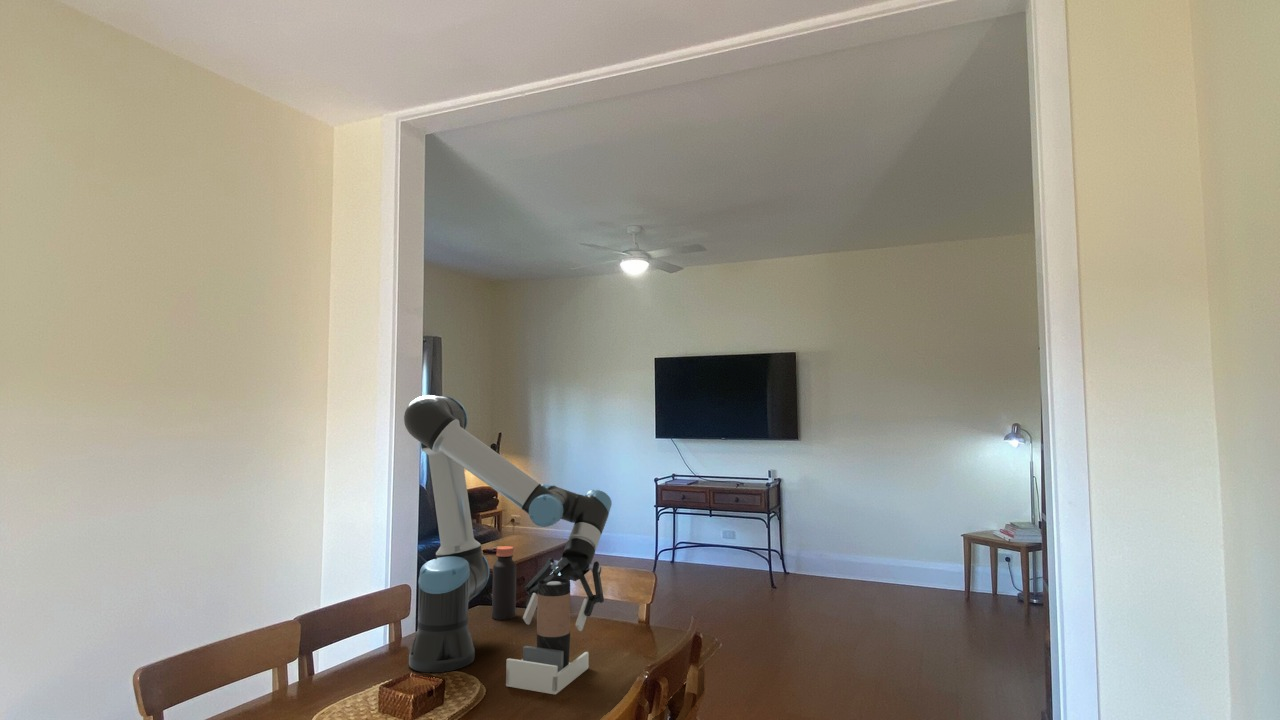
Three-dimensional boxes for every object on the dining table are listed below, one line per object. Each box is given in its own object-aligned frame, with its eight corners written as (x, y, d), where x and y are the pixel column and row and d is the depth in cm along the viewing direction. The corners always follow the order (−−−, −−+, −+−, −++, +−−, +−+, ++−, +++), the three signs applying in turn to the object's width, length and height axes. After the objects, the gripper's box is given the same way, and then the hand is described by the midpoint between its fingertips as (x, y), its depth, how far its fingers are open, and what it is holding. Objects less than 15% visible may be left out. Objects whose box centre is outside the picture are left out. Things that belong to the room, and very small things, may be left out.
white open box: (506, 686, 144) (506, 659, 144) (542, 661, 158) (543, 637, 159) (555, 694, 139) (555, 667, 140) (588, 668, 154) (588, 643, 154)
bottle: (487, 616, 194) (489, 547, 196) (507, 612, 198) (509, 544, 200) (499, 622, 189) (500, 550, 191) (519, 617, 193) (521, 547, 195)
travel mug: (563, 678, 146) (564, 586, 148) (531, 675, 148) (532, 584, 150) (574, 666, 154) (574, 578, 155) (542, 663, 155) (544, 576, 157)
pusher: (522, 674, 148) (523, 647, 148) (526, 672, 149) (526, 645, 149) (560, 681, 144) (560, 652, 145) (563, 678, 145) (564, 650, 146)
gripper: (631, 558, 163) (606, 639, 148) (543, 550, 172) (511, 626, 157) (623, 539, 159) (596, 622, 144) (533, 533, 168) (498, 610, 153)
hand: (551, 624), depth 150 cm, fingers open, 13 cm apart
